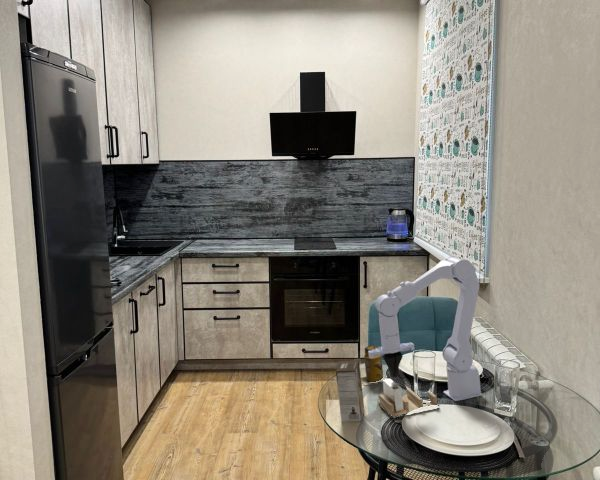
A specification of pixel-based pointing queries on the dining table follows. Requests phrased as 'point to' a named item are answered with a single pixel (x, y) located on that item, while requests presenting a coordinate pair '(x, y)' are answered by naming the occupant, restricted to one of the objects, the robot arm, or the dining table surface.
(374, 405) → the dining table surface
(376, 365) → the condiment
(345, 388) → the coffee box
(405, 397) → the rack
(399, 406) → the panel
